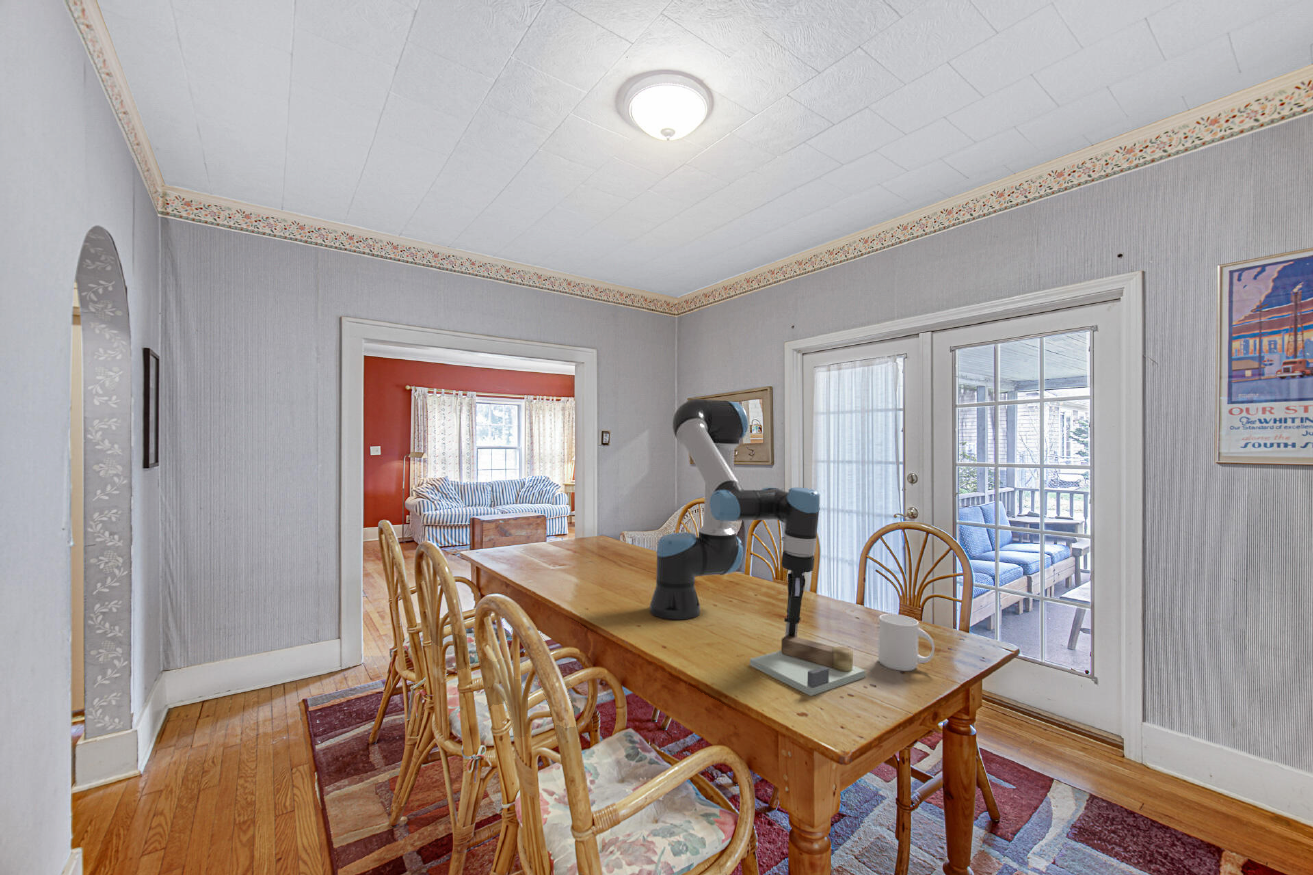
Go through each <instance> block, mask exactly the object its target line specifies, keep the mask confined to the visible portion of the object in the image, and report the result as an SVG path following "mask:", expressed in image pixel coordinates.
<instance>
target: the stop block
mask: <svg viewBox="0 0 1313 875" xmlns="http://www.w3.org/2000/svg"><path fill="white" fill-rule="evenodd" d="M827 683H829V668H826V667H824V666H823V667H820V668H816V669H813V670H810V671H808V681H807V686H809V687H811V688H815V687H818V686H821V685H824V684H827Z"/></svg>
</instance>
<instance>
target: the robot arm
mask: <svg viewBox="0 0 1313 875" xmlns="http://www.w3.org/2000/svg"><path fill="white" fill-rule="evenodd" d="M748 420H749V419H748V415H747V412H746V409H744V407H743V405H741V404H740V403H739V402H736V401H731V400H730V401H729V400H720V399H718V400H714V399H699V398H695V399H694V398H692V399H690V400H687V401H686V402H684V403H683V404H681V405H680V406H679V407H678V408H677V410H676V411H675V413H674V416H673V419H672V431H673V433H674V437H675V438H676V439H677V442H678V443H680V445H682V446H684V447H685V449H686V451H687V452H688V454H689V456H690V458H691V459H692V461H693V463H694V465H695V467H696V468H697V470H698V472H699V473H700V475H701V477H702V478H703V481H704V483H705V484H704V511H703V512H704V513H703V525H702V526H701V527H700V528H699V529H698V537H697V536H696V534H695V533H692V532H673V533H668V534H665V535H663V536H662V537H660V538H659V540H658V542H657V548H656V582H655V583H656V584H655V585H656V586H655V589H654V591H653V594H652V598H651V601H650V604H649V613H650V614H651V615H653V616H654V617H657V618H660V619H665V620H679V621H680V620H689V619H694V618H696V617H698V616H700V613H701V605H700V602H699V598H698V595H697V590H696V586H695V583H696V582H695V581H696V577H700V576H701V577H704V576H718V575H719V576H723V575H727V574H732V573H735V572H736V571H737V570H738V569H739V568H740V567H741V564H742V562H743V556H744V547H743V543H742V540H741V539H740V537H739V536H737V532H736V530H735V529H734V528H733V527H732V522H735V521H737V522H738V521H742V522H743V521H763V520H765V521H766V520H768V521H769V520H776V521H779V522H782V523H785V526H784V536H782V537H781V541H782V542H783V545H782V546H783V551H782V556H781V566H782V568H784V569H786V570H787V571H790V572H788V573H787V577H786V578H787V594H788V595H787V603H786V604H787V606H786V617H784V622H785V623H786V624H785V632H784V635H785V636H787V635H789V636H794V637H798V629H799V628H798V627H799V623H800V621H802V620H801V617H800V616H801V609H802V601H803V596H804V592H805V591H804V588H805V585H806V578H805V575H804V574H805V573H811V572H812V571H813V570H814V567H815V555H814V554H816V551H817V550H816V548H817V540H818V538H817V533H818V527H819V526H818V524H819V516H820V509H821V506H820V503H821V502H820V500H821V498H820V496H821V495H820V493H819V491H817V490H816V489H812V488H806V487H805V488H804V487H790V488H789V489H788V491H785V490H782V489H779V488H777V487H770V486H768V487H763V488H762V489H743V487H742V485H741V483H740V482H739V481H738V479H737V478H736V476H735V474H734V471H735V470H734V465H735V450H736V449H737V448H738V447H739V446H740V440H741V439H743V438H745V436H746V435H747V432H748V429H749V421H748ZM785 636H784V637H785Z"/></svg>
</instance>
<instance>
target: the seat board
mask: <svg viewBox="0 0 1313 875" xmlns="http://www.w3.org/2000/svg"><path fill="white" fill-rule="evenodd" d="M749 666H750V667H752V668H754V669H757V670H758V671H759V672H760V671H761V672H762V673H764V674H766V675H768V676H770V677H772V678H774V679H776V680H778V681H780V682H782V683H784V684H786V685H788V686H790V687H792V688H794V689H796V690H798V691H800V692H802V693H803V694H806V695H808V696H810V697H813V696H816V695H819V694H822V693H824V692H826V691H829V690H832V689H835V688H838V687H840V686H843V685H847V684H850V683H852V682H855V681H858V680H861V679H864V678H866V670H865V669H862V668H861V667H858V666H855V665H853V668H852V670H851V671H839V670H836V669H834V668H832V667H828V666H825V665H821V664H817V663H814V662H810V661H807V660H803V659H800V658H796V657H792V656H789V655H785V654H782V653H781V650H778V651H775V652H770V653H767V654H763V655H759V656H756V657H751V658H749ZM823 666H824V667H826V668H829V683H827V684H824V685H821V686H818V687H815V688H811V687H809V686H807V681H808V671H810V670H813V669H816V668H820V667H823Z"/></svg>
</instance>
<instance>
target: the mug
mask: <svg viewBox="0 0 1313 875" xmlns="http://www.w3.org/2000/svg"><path fill="white" fill-rule="evenodd" d="M878 624H879V625H878V649H877V650H878V652H877V654H878V662H879V663H880V664H881V665H882V666H884V667H885V668H888V669H890V670H895V671H899V672H901V671H902V672H911V671H915V669H917V668H918V664H925V663H928V662H930V661H931V660H932V658H933V656H934V653H935V642H934V640H933V638H932V637H931V636H930V635H929V633H927V632H926V631H925V630H923V629H922V628H921V627H920V624H919V621H918V620H917V619H915V618H914V617H910V616H907V615H903V614H896V613H885V614H881V615H879V618H878ZM919 637H920V638H924V639H926V640H927V641H928V642H929V644H930V646H931V648H932V649H931V653H930V654H929V655H927V656H923V655H920V654H919Z"/></svg>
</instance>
